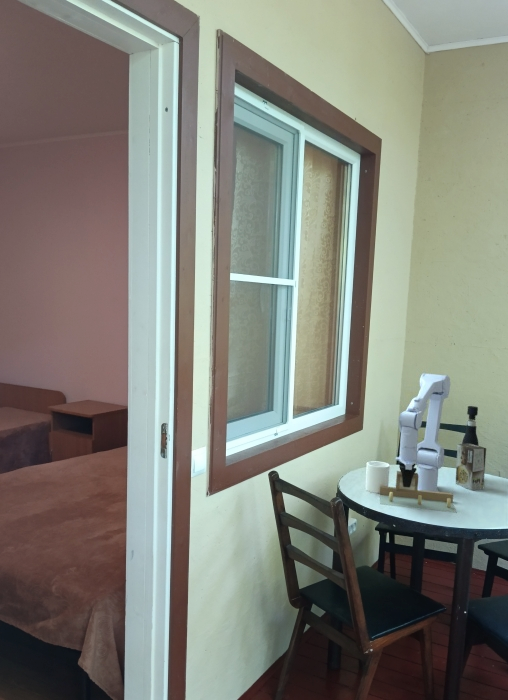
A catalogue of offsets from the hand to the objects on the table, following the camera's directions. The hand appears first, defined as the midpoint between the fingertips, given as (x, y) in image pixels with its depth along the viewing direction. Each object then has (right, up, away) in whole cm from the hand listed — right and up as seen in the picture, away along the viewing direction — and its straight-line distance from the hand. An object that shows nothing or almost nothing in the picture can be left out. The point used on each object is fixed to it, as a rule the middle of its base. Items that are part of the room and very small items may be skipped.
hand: (406, 485), depth 194 cm
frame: (0, -2, 0) cm, 2 cm away
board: (+4, -7, +1) cm, 8 cm away
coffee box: (+32, -7, +26) cm, 41 cm away
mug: (-6, -6, +16) cm, 18 cm away
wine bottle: (+35, -7, +35) cm, 50 cm away
